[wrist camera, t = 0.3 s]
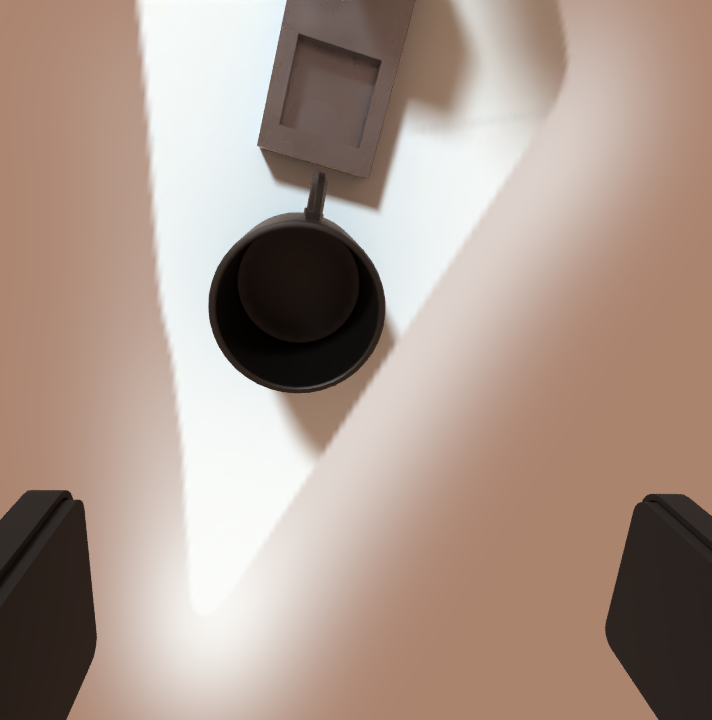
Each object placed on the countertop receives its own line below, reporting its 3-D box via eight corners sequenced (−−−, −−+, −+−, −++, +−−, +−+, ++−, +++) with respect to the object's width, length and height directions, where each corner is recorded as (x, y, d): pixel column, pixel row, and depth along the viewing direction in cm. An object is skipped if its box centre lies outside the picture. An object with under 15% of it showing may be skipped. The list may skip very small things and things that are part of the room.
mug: (389, 189, 36) (415, 190, 28) (351, 358, 40) (365, 406, 31) (246, 157, 35) (228, 148, 26) (220, 335, 38) (196, 379, 30)
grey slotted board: (329, -193, 30) (331, -218, 28) (449, -145, 31) (458, -166, 29) (259, 147, 35) (257, 145, 33) (364, 178, 36) (368, 177, 34)
